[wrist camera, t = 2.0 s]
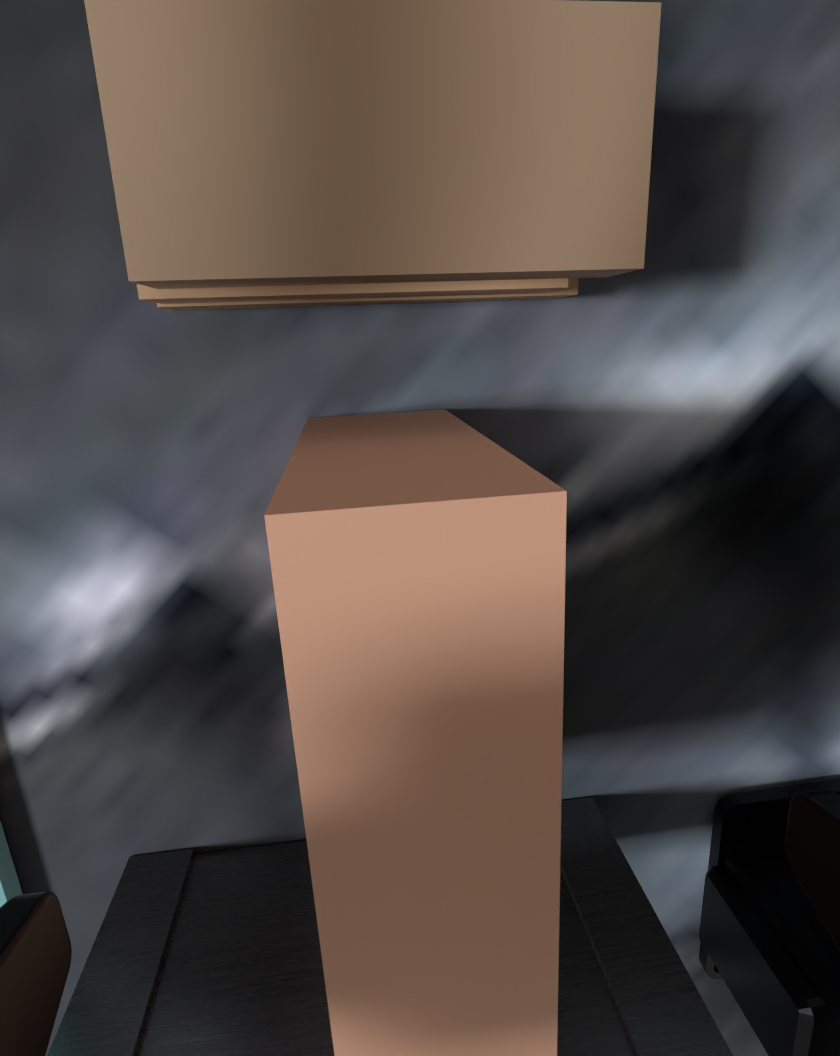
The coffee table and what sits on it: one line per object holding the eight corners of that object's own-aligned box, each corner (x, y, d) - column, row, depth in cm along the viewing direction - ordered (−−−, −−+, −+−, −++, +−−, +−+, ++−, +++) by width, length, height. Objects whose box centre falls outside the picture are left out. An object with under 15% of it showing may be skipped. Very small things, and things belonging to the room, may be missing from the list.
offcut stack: (560, 97, 13) (662, -15, 9) (555, 299, 14) (643, 282, 10) (146, 96, 12) (44, -31, 8) (176, 310, 13) (101, 297, 9)
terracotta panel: (444, 408, 14) (566, 491, 6) (458, 752, 17) (555, 1103, 9) (308, 417, 14) (265, 515, 6) (344, 766, 16) (345, 1141, 9)
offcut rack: (592, 796, 17) (786, 1152, 10) (590, 843, 18) (774, 1216, 10) (129, 856, 16) (-61, 1316, 9) (141, 904, 17) (-30, 1380, 9)
